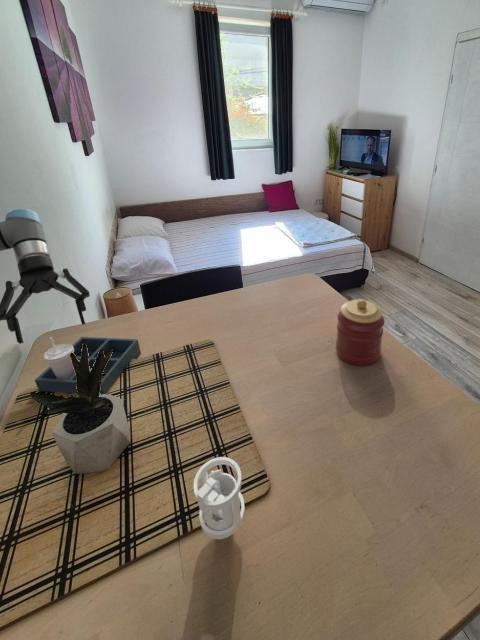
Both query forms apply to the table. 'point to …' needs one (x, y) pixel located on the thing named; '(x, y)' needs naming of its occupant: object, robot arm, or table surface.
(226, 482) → the white cylindrical holder
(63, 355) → the smoothie
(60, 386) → the divided tray
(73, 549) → the table surface
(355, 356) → the kitchen canister
